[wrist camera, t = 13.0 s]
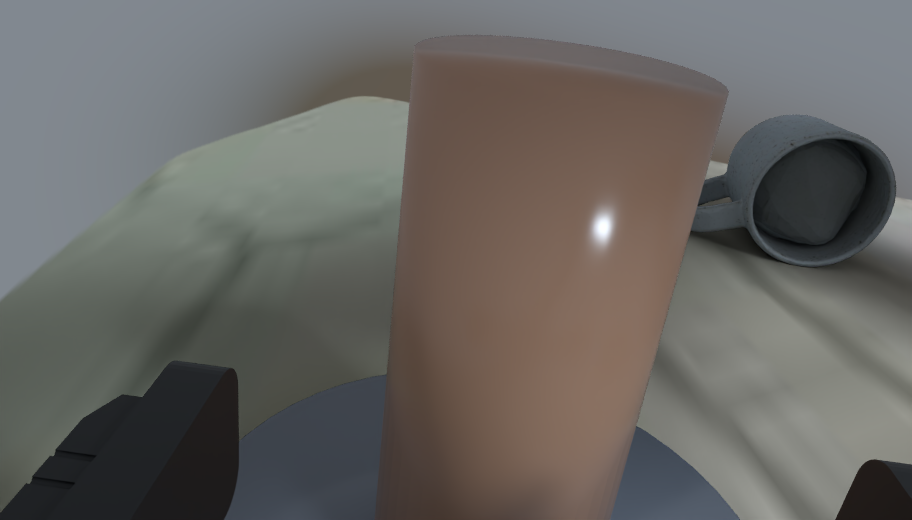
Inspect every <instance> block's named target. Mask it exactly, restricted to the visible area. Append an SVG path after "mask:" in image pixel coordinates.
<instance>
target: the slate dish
mask: <svg viewBox="0 0 912 520" xmlns="http://www.w3.org/2000/svg"><path fill="white" fill-rule="evenodd" d="M386 377H387V375H381V376H375V377H370V378H366V379H362V380H358V381H354V382H349V383H345V384H342V385H339V386H337V387H334V388H331V389H328V390H325V391H322V392H319V393H317V394H315V395H312V396H310V397H308V398H306V399H304V400H301V401H299V402H297V403H295V404H293V405H291V406H289V407H287V408H286V409H284V410H282V411H281V412H279V413H277V414H276V415H274V416H272V417H270V418H269V419H267V420H266V421H265V422H263V423H262V424H261V425H259V426H258V427H256V428H255V429H254V430H252V431H251V432H250V433H248V434H247V435H246V436H244V437H243V438H242V439H241V440H240V441H239V470H238V478H237V483H236V488H235V492H234V496H233V499H232V502H231V505H230V508H229V510H228V512H227V515H226V517H225V519H224V520H374V519H375V507H376V495H377V483H378V471H379V460H380V448H381V436H382V424H383V412H384V400H385V389H386ZM610 520H740V519H739V517H738V516H737V515H736V514H735V512H734V511H733V510H732V509H731V507H730V506H729V505H728V504H727V503H726V501H725V500H724V499H723V498H722V497H721V495H720V494H719V493H718V492H717V491H716V490H715V489H714V488H713V487H712V486H711V485H710V484H709V483H708V482H707V481H706V480H705V479H704V478H703V477H702V476H701V475H700V474H699V473H698V472H697V471H696V470H695V469H694V468H693V467H692V466H691V465H689V464H688V463H687V462H686V461H685V460H683V459H682V458H681V457H680V456H679V455H677V454H676V453H675V452H674V451H673V450H671V449H670V448H669V447H667V446H666V445H664V444H663V443H662V442H660V441H659V440H657V439H656V438H654V437H653V436H652V435H650V434H649V433H647V432H646V431H644V430H643V429H641V428H639V427H637V426H636V429H635V432H634V436H633V439H632V443H631V447H630V450H629V454H628V457H627V461H626V465H625V468H624V472H623V475H622V479H621V483H620V486H619V490H618V493H617V497H616V501H615V504H614V508H613V511H612V515H611V519H610Z"/></svg>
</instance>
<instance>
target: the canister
mask: <svg viewBox="0 0 912 520" xmlns="http://www.w3.org/2000/svg"><path fill="white" fill-rule="evenodd" d="M728 93H729V91H728V89H727V88H726V86H724V85H723V84H722V83H721V82H719V81H717V80H716V79H714V78H711V77H709V76H707V75H705V74H702V73H700V72H697V71H695V70H691V69H689V68H685V67H683V66H679V65H676V64H672V63H669V62H665V61H661V60H658V59H654V58H649V57H645V56H641V55H636V54H631V53H627V52H622V51H616V50H612V49H606V48H600V47H594V46H589V45H582V44H575V43H568V42H560V41H552V40H544V39H534V38H524V37H509V36H492V35H456V36H442V37H435V38H430V39H426V40H423V41H420V42H418V43H417V44H416V45H415V48H414V57H413V69H412V81H411V93H410V104H409V116H408V128H407V140H406V152H405V164H404V175H403V187H402V199H401V211H400V223H399V235H398V246H397V258H396V270H395V282H394V294H393V306H392V317H391V329H390V341H389V353H388V365H387V377H386V389H385V400H384V412H383V424H382V436H381V448H380V460H379V471H378V483H377V495H376V507H375V519H374V520H610V519H611V515H612V511H613V508H614V504H615V501H616V497H617V493H618V490H619V486H620V483H621V479H622V475H623V472H624V468H625V465H626V461H627V457H628V454H629V450H630V447H631V443H632V439H633V436H634V432H635V429H636V425H637V421H638V418H639V414H640V411H641V407H642V403H643V400H644V396H645V393H646V389H647V385H648V382H649V378H650V375H651V371H652V367H653V364H654V360H655V357H656V353H657V349H658V346H659V342H660V339H661V335H662V331H663V328H664V324H665V321H666V317H667V313H668V310H669V306H670V303H671V299H672V295H673V292H674V288H675V285H676V281H677V277H678V274H679V270H680V267H681V263H682V259H683V256H684V252H685V249H686V245H687V241H688V238H689V234H690V231H691V227H692V223H693V220H694V216H695V213H696V209H697V205H698V202H699V198H700V195H701V191H702V187H703V184H704V180H705V177H706V173H707V169H708V166H709V162H710V158H711V155H712V151H713V148H714V144H715V141H716V137H717V133H718V130H719V126H720V123H721V119H722V115H723V112H724V108H725V104H726V101H727V97H728Z"/></svg>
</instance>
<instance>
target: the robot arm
mask: <svg viewBox="0 0 912 520" xmlns="http://www.w3.org/2000/svg"><path fill="white" fill-rule="evenodd" d="M238 470H239V422H238V379H237V374H236V372H235V370H234V369H233V368H226V367H218V366H211V365H204V364H197V363H190V362H182V361H172V362H171V363H169V364H168V365H167V367H166V368H165V369H164V370H163V371H162V373H161V374H160V375H159V377H158V378H157V379H156V380H155V382H154V383H153V384H152V386H151V387H150V388H149V389H148V391H147V392H146V393H145V394H144V396H143V397H137V396H129V395H121V396H119V397H117V398H116V399H114V400H112V401H111V402H109V403H107V404H106V405H104V406H102V407H101V408H99V409H97V410H96V411H94V412H93V413H91V414H89V415H88V416H86V417H84V418H83V419H82V420H81V421H80V422H79V423H78V425H77V426H76V427H75V428H74V429H73V430H72V431H71V433H70V434H69V435H68V436H67V437H66V438H65V439H64V441H63V442H62V443H61V444H60V445H59V446H58V447H57V449H56V452H55V455H54V456H50V457H49V458H48V459H47V460H46V461H45V462H44V464H43V465H42V466H41V467H40V468H39V469H38V470H37V472H36V473H35V474H34V475H33V476H32V481H31V483H30V484H27V483H26V484H25V485H24V487H23V488H22V489H21V490H20V491H19V492H18V493H17V495H16V496H15V497H14V498H13V499H12V500H11V501H10V503H9V504H8V505H7V506H6V507H5V508H4V509H3V511H2V512H1V513H0V520H224V519H225V517H226V515H227V512H228V510H229V508H230V505H231V502H232V499H233V496H234V492H235V488H236V483H237V478H238ZM835 520H912V465H911V464H904V463H896V462H889V461H882V460H875V459H874V460H869V461H867V462H866V463H864V464H863V465H862V466H861V468H860V469H859V471H858V472H857V474H856V476H855V479H854V481H853V483H852V485H851V487H850V489H849V491H848V494H847V496H846V498H845V500H844V502H843V504H842V507H841V509H840V511H839V513H838V515H837V517H836V519H835Z"/></svg>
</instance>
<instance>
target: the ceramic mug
mask: <svg viewBox="0 0 912 520" xmlns="http://www.w3.org/2000/svg"><path fill="white" fill-rule="evenodd" d="M726 197H730V198H731V200H732V202H731V203H723V204H717V205H713V206H699V205H702V204H705V203H708V202H710V201H715V200H719V199H722V198H726ZM895 197H896V181H895V175H894V172H893V169H892V166H891V164H890V161H889V159H888V157H887V156H886V155H885V153H883V151H882V150H881V149H880V148H879V147H877V146H876V145H875V144H874V143H872V142H871V141H870V140H868V139H866V138H864V137H862V136H860V135H858V134H855V133H852V132H849V131H847V130H845V129H842V128H840V127H837V126H835V125H833V124H831V123H828V122H826V121H824V120H822V119H818V118H816V117H812V116H808V115H783V116H778V117H774V118H771V119H768V120H765V121H763V122H761V123H759V124H758V125H756V126H754V127H753V128H752V129H750V130H749V131H748V132H746V133H745V134H744V135H743V137H742V138H741V139H740V140H739V141H738V143H737V144H736V146H735V147H734V149H733V151H732V153H731V156H730V159H729V163H728V167H727V172H726V173H725V174H724V175H721V176H717V177H713V178H710V179H707V180H704V184H703V187H702V191H701V195H700V198H699V202H698V205H697V206H699V207H697V209H696V213H695V216H694V220H693V223H692V227H691V231H695V232H713V231H721V230H728V229H734V228H740V227H745V228H747V229H748V231H749V233H750V234H751V236H752V238H753V239H754V241H755V242H756V243H757V244H758V246H760V247H761V248H762V249H763V250H764V251H765V252H766V253H768V254H769V255H771V256H772V257H774V258H776V259H777V260H780V261H783V262H786V263H788V264H792V265H798V266H806V267H818V266H825V265H830V264H833V263H837V262H840V261H843V260H845V259H847V258H850V257H852V256H853V255H855V254H856V253H858V252H860V251H861V250H863V249H864V248H865V247H866V246H868V245H869V244H870V243H871V242H872V241H873V240H874V239H875V238H876V237H877V236H878V234H879V233H880V232H881V230H882V229H883V228H884V226H885V224H886V223H887V221H888V219H889V217H890V215H891V212H892V209H893V206H894V203H895Z"/></svg>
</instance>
